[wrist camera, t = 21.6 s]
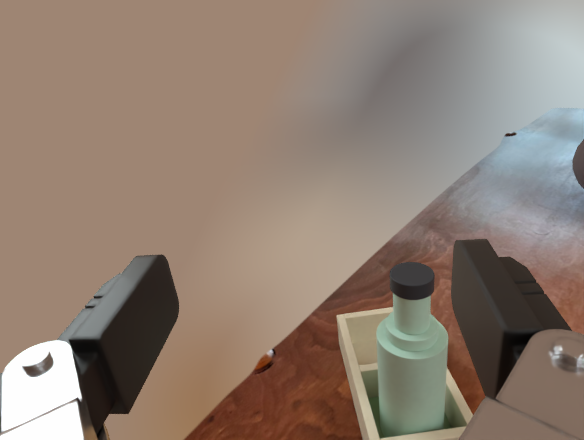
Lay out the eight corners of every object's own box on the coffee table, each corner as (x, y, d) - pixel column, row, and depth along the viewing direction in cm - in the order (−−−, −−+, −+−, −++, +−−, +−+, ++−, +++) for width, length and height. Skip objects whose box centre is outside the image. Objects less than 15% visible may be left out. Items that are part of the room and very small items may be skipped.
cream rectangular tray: (373, 483, 33) (371, 449, 32) (339, 343, 48) (336, 314, 46) (479, 468, 33) (483, 433, 32) (413, 333, 48) (413, 304, 46)
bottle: (389, 457, 34) (384, 300, 28) (373, 404, 39) (366, 259, 32) (453, 448, 34) (464, 289, 28) (430, 396, 39) (434, 250, 32)
